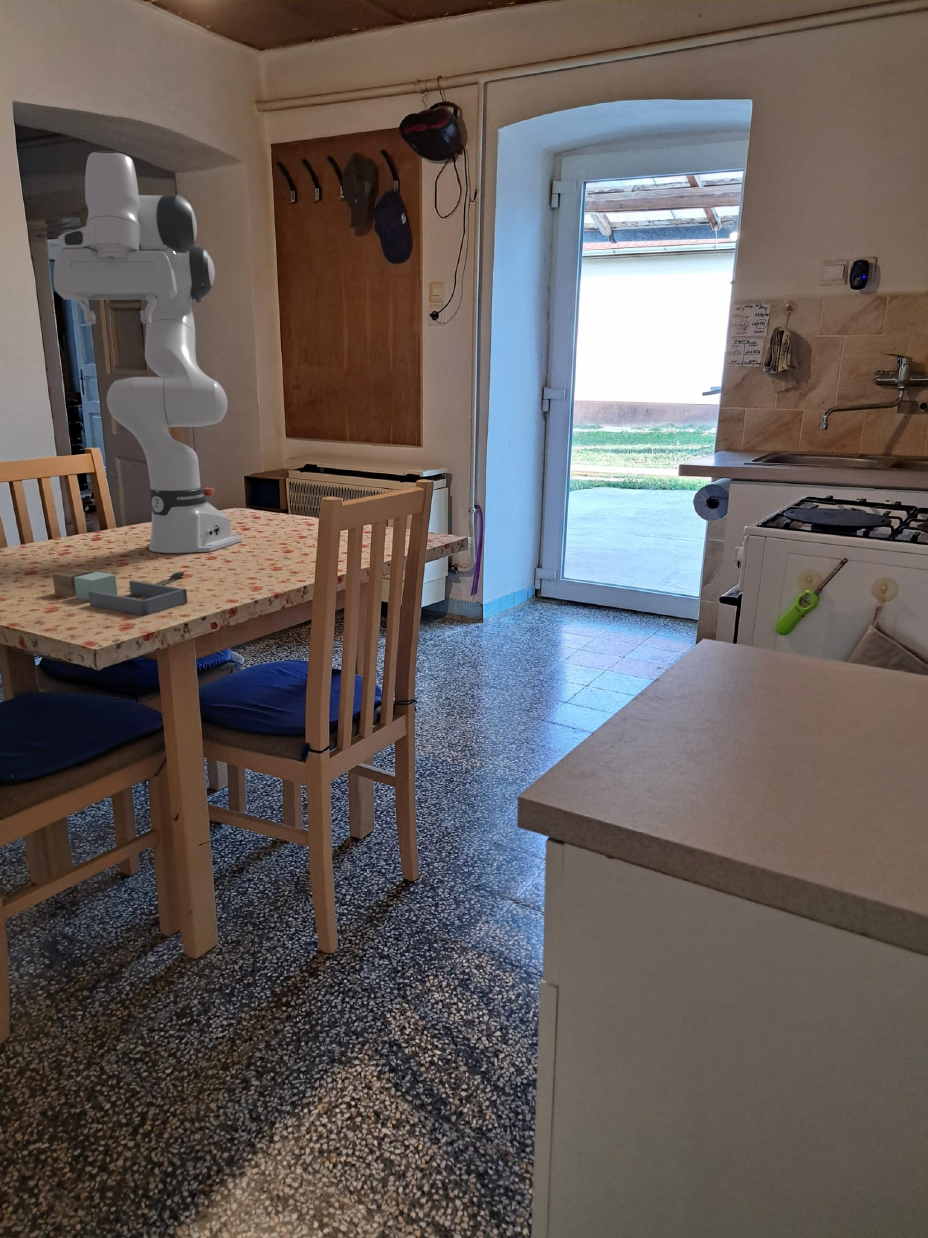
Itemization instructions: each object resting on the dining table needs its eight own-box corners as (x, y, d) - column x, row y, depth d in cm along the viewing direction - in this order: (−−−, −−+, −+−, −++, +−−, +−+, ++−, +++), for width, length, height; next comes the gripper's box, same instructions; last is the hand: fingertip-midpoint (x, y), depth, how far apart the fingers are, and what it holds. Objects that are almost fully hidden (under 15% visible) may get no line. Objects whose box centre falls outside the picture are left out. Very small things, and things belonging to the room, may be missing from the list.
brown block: (77, 588, 163) (75, 568, 162) (95, 591, 161) (93, 571, 159) (55, 594, 159) (52, 573, 157) (73, 597, 156) (70, 576, 155)
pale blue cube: (99, 592, 160) (96, 571, 159) (117, 595, 158) (115, 574, 157) (76, 598, 156) (73, 577, 155) (95, 601, 154) (92, 580, 152)
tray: (133, 593, 159) (132, 580, 158) (187, 602, 153) (186, 589, 152) (89, 605, 151) (88, 591, 150) (144, 615, 145) (143, 601, 144)
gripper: (179, 252, 153) (182, 328, 153) (61, 252, 151) (64, 329, 151) (171, 236, 147) (175, 315, 147) (48, 235, 145) (51, 315, 144)
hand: (118, 322), depth 149 cm, fingers open, 8 cm apart
